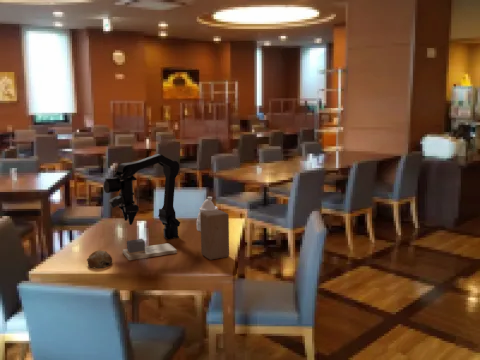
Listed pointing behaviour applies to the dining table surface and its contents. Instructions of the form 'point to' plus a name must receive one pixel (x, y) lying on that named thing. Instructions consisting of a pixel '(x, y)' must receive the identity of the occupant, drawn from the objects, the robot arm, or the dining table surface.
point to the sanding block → (135, 246)
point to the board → (151, 251)
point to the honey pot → (205, 206)
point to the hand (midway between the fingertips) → (128, 222)
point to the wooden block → (214, 234)
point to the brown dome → (99, 259)
